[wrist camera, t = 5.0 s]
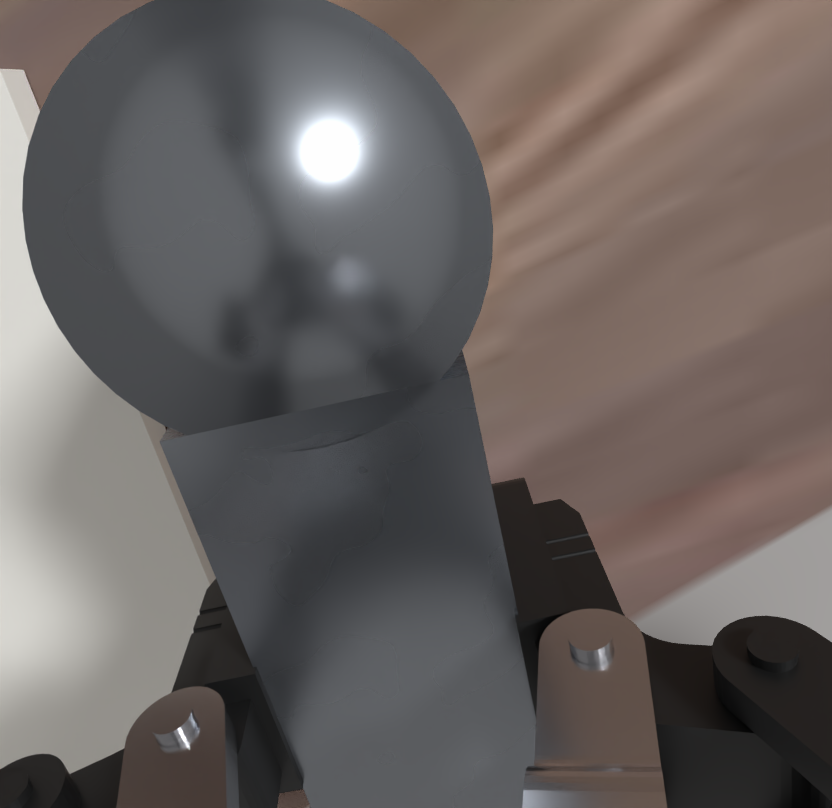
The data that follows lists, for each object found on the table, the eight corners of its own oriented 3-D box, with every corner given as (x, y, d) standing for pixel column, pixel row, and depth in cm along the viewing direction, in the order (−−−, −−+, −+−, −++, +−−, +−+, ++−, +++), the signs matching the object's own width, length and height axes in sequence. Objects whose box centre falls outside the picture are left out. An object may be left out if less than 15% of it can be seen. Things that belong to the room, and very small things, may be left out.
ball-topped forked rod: (60, 66, 10) (-119, 67, 7) (457, -33, 10) (499, -90, 6) (359, 842, 17) (352, 1051, 13) (598, 798, 17) (657, 1000, 13)
